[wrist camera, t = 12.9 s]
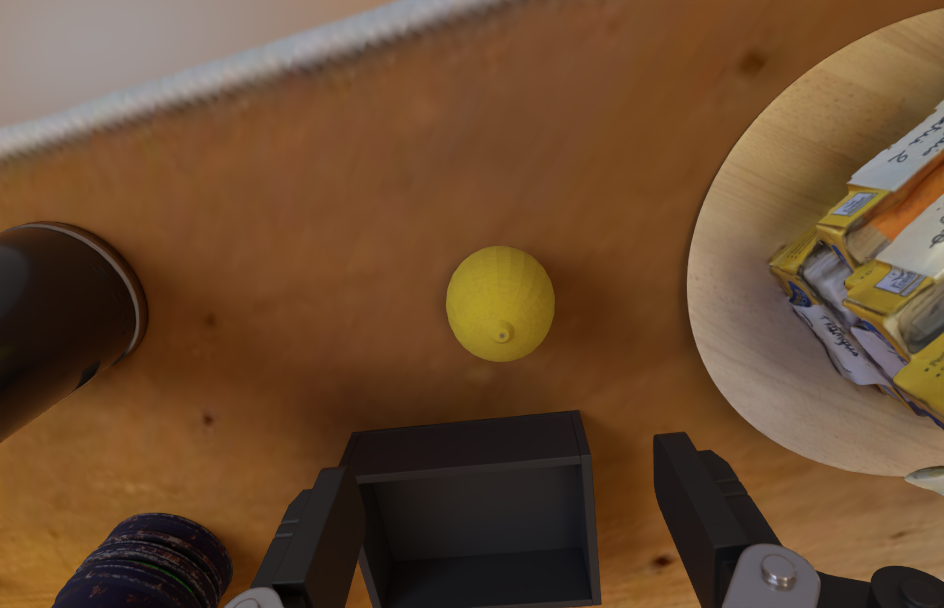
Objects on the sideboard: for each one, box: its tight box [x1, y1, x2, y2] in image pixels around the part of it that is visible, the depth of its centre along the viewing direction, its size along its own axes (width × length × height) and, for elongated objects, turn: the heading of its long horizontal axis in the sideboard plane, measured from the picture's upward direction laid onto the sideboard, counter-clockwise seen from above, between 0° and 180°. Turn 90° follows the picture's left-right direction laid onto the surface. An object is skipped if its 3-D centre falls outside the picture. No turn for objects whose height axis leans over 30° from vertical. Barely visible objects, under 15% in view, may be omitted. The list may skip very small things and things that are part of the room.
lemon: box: [446, 246, 555, 362], centre depth 26 cm, size 6×6×8 cm
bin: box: [338, 410, 602, 608], centre depth 34 cm, size 15×12×4 cm
